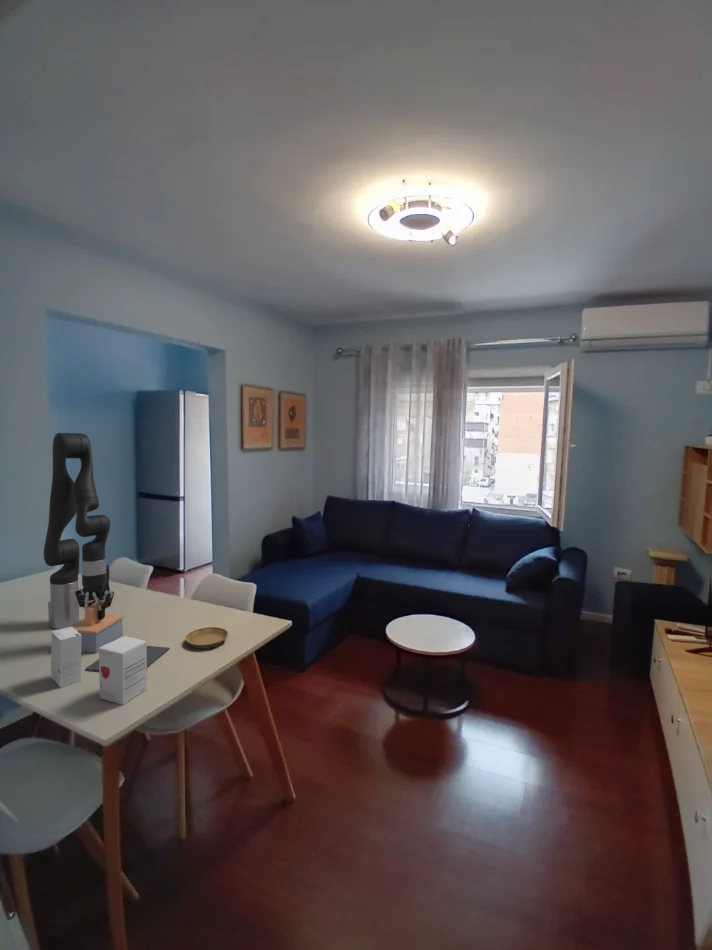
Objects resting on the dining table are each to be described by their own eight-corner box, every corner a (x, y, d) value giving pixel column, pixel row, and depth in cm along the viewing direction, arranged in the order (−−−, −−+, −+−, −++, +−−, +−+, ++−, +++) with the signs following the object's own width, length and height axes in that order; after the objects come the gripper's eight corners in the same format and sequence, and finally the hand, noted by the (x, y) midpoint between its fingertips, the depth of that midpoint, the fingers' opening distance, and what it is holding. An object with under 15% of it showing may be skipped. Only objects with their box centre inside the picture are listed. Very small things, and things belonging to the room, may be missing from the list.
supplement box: (98, 698, 130) (97, 647, 128) (124, 683, 138) (123, 634, 137) (122, 706, 126) (121, 653, 125) (148, 689, 135) (147, 640, 134)
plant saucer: (205, 655, 157) (205, 648, 156) (176, 645, 164) (176, 638, 164) (236, 639, 170) (236, 632, 169) (208, 630, 177) (208, 624, 176)
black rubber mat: (85, 670, 145) (85, 668, 145) (121, 645, 163) (121, 643, 162) (138, 675, 142) (138, 673, 142) (169, 649, 160) (169, 647, 160)
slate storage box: (96, 653, 156) (95, 633, 156) (67, 650, 158) (66, 630, 157) (122, 635, 170) (122, 617, 169) (95, 633, 171) (95, 615, 171)
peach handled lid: (96, 638, 155) (95, 614, 155) (64, 635, 157) (63, 611, 156) (124, 620, 170) (124, 598, 169) (94, 618, 172) (94, 596, 171)
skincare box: (50, 678, 140) (49, 631, 138) (73, 671, 144) (71, 625, 143) (60, 688, 134) (59, 639, 133) (83, 680, 139) (81, 633, 138)
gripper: (67, 573, 159) (69, 621, 160) (105, 576, 157) (106, 624, 158) (83, 567, 166) (84, 613, 168) (119, 570, 164) (120, 616, 166)
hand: (95, 618), depth 163 cm, fingers open, 4 cm apart
